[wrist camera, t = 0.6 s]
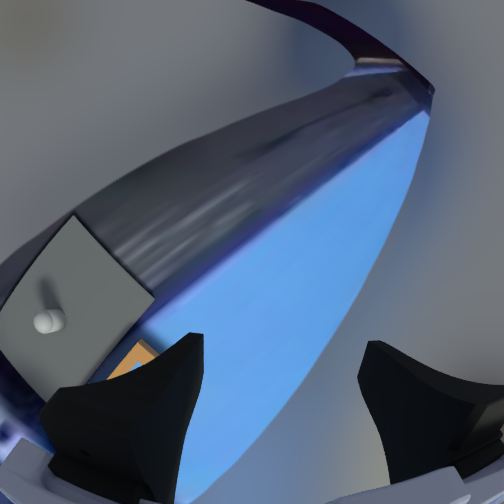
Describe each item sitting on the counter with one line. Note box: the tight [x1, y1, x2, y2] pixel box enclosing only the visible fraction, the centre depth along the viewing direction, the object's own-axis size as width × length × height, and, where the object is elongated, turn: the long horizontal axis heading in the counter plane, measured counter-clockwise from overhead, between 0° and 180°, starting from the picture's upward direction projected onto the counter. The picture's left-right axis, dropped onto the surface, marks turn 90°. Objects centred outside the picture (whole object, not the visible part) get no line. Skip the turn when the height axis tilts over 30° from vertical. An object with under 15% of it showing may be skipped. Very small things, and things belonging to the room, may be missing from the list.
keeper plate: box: [0, 215, 155, 403], centre depth 23 cm, size 20×14×6 cm
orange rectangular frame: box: [107, 338, 160, 380], centre depth 25 cm, size 11×7×4 cm, turn 141°
